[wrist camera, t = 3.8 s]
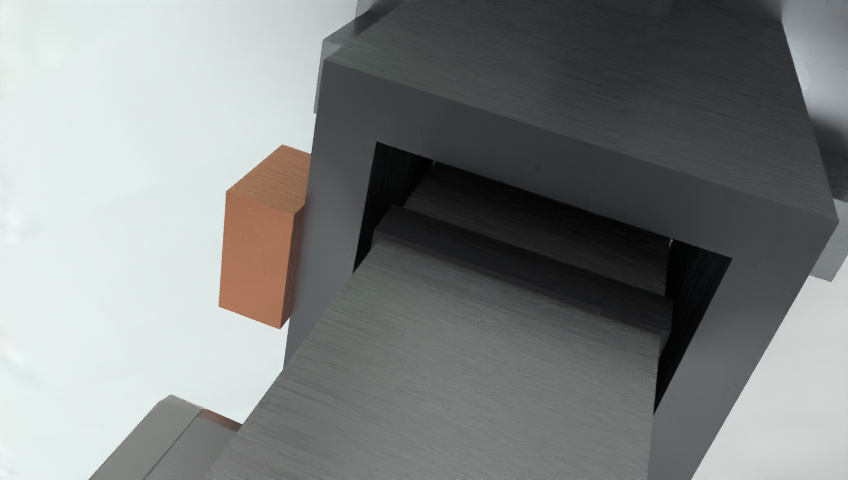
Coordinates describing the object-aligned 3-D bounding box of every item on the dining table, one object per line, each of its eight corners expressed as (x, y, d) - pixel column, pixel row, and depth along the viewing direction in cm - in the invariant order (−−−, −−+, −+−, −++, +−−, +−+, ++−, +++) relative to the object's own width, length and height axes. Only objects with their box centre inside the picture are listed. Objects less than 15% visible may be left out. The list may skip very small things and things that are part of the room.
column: (532, 21, 21) (59, 642, 6) (691, 68, 20) (627, 908, 5) (493, 162, 23) (83, 867, 8) (635, 207, 22) (475, 1069, 7)
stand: (413, -236, 20) (102, -257, 10) (986, -95, 18) (1349, 68, 8) (339, 220, 28) (120, 476, 17) (736, 358, 26) (751, 743, 15)
